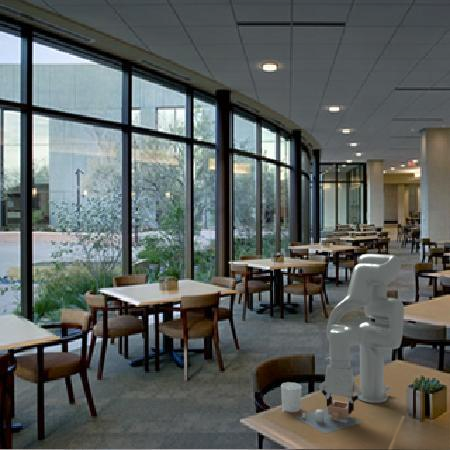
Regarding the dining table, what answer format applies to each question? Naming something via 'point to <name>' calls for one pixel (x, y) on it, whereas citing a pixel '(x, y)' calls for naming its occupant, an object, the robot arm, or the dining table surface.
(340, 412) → the square frame with tab
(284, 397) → the white cup
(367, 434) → the dining table surface
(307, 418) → the board
